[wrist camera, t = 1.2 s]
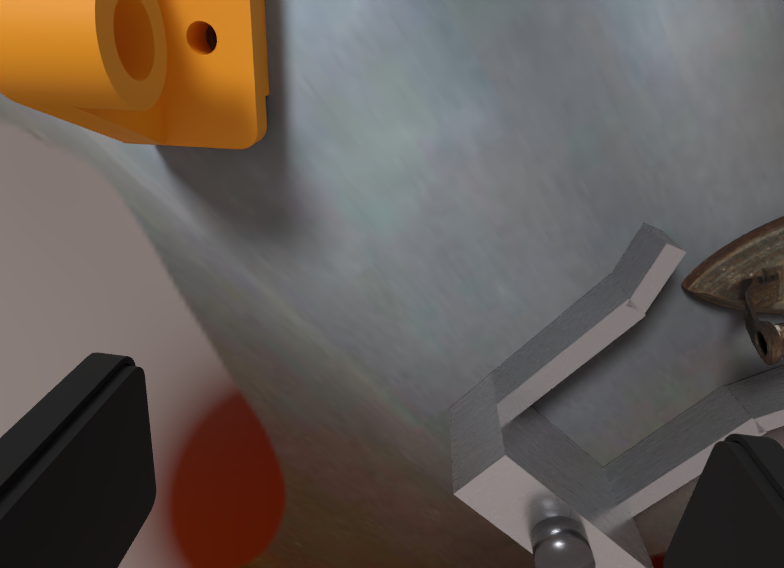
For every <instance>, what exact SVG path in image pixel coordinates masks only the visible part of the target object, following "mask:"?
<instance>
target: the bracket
mask: <svg viewBox="0 0 784 568" xmlns="http://www.w3.org/2000/svg"><path fill="white" fill-rule="evenodd" d="M210 25H211V26H212V28H213V29H214V31H215V33H216V36H217V45H216V48H215V49H214V51H213V50H212V49H211V48H210V47H209V45H208V43H207V40H206V32H207V29H208V27H209V26H210ZM0 92H1V93H2V94H3V95H5V96H6V97H7V98H9V99H11V100H12V101H14V102H17V103H19V104H22V105H25V106H27V107H30V108H33V109H35V110H38V111H41V112H43V113H46V114H49V115H52V116H54V117H57V118H60V119H62V120H65V121H68V122H70V123H73V124H76V125H79V126H81V127H84V128H87V129H89V130H92V131H95V132H97V133H100V134H103V135H106V136H108V137H111V138H114V139H116V140H119V141H122V142H124V143H132V144H151V145H169V146H187V147H206V148H224V149H246V148H248V147H250V146H252V145H253V144H255V143H257V142H258V141H260V140H261V139H262V138H263V137H264V136H265V134H266V131H267V116H266V96H267V95H269V79H268V58H267V37H266V16H265V0H0Z"/></svg>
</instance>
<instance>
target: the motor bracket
mask: <svg viewBox="0 0 784 568" xmlns="http://www.w3.org/2000/svg"><path fill="white" fill-rule="evenodd" d="M685 254H686V251H685V250H684V249H683V248H682V247H680V246H679V245H678V244H677V243H676V242H674V241H673V240H672V239H671V238H670V237H669V236H667V235H666V234H665V233H664V232H663V231H661V230H659V229H657V228H654V227H652V226H650V225H647V224H645V223H643V225H642V227H641V228H640V230H639V231H638V233H637V234H636V236H635V238H634V239H633V241H632V242H631V244H630V246H629V247H628V249H627V250H626V252H625V254H624V255H623V257H622V258H621V260H620V261H619V263H618V265H617V266H616V268H615V269H614V271H613V273H612V274H610V275H608V276H607V277H606V278H605V279H604V280H602V281H601V282H600V283H599V284H598V285H596V286H595V287H594V288H593V289H592V290H590V291H589V292H588V293H587V294H586V295H584V296H583V297H582V298H581V299H580V300H578V301H577V302H576V303H575V304H574V305H572V306H571V307H570V308H569V309H568V310H566V311H565V312H564V313H563V314H562V315H560V316H559V317H558V318H557V319H555V320H554V321H553V322H552V323H551V324H549V325H548V326H547V327H546V328H545V329H543V330H542V331H541V332H540V333H539V334H537V335H536V336H535V337H534V338H533V339H531V340H530V341H529V342H528V343H527V344H525V345H524V346H523V347H522V348H521V349H519V350H518V351H517V352H516V353H515V354H513V355H512V356H511V357H510V358H509V359H507V360H506V361H505V362H504V363H503V364H501V365H500V366H499V367H498V368H497V369H495V370H494V371H493V372H492V373H491V374H489V375H488V376H487V377H486V378H485V379H483V380H482V381H481V382H480V383H479V384H477V385H476V386H475V387H474V388H473V389H471V390H470V391H469V392H468V393H467V394H465V395H464V396H463V397H462V398H461V399H459V400H458V401H457V402H456V403H455V404H453V405H452V406H451V407H450V429H451V451H452V473H453V494H454V495H455V496H457V497H458V498H459V499H461V500H462V501H463V502H465V503H466V504H467V505H469V506H470V507H471V508H473V509H474V510H475V511H477V512H478V513H479V514H480V515H482V516H483V517H484V518H486V519H487V520H488V521H490V522H491V523H492V524H494V525H495V526H496V527H498V528H499V529H500V530H502V531H503V532H504V533H506V534H507V535H508V536H510V537H511V538H512V539H514V540H515V541H516V542H518V543H519V544H520V545H522V546H523V547H524V548H525V549H527V550H528V551H529V552H531V553H532V554H533V556H534V561H535V567H536V568H654V567H653V565H652V562H651V560H650V558H649V555H648V553H647V550H646V548H645V546H644V543H643V541H642V538H641V536H640V534H639V531H638V529H637V526H636V524H635V522H634V519H633V516H635V515H637V514H638V513H640V512H641V511H643V510H645V509H646V508H648V507H649V506H651V505H652V504H654V503H656V502H657V501H659V500H660V499H662V498H664V497H665V496H667V495H668V494H670V493H671V492H673V491H675V490H676V489H678V488H679V487H681V486H683V485H684V484H686V483H687V482H689V481H690V480H692V479H694V478H695V477H697V476H698V475H700V474H701V473H702V471H703V469H704V467H705V464H706V462H707V460H708V458H709V455H710V453H711V451H712V449H713V447H714V445H715V444H716V443H717V442H718V441H724V440H725V438H726V437H727V436H729V435H730V434H735V433H736V434H744V435H752V436H762V435H763V434H765V433H766V432H767V431H769V430H772V429H775V428H778V427H781V426H784V365H783V366H781V367H778V368H775V369H772V370H769V371H766V372H763V373H761V374H758V375H755V376H752V377H749V378H746V379H744V380H741V381H738V382H735V383H732V384H729V385H726V386H725V385H723V386H721V387H720V388H718V389H717V390H716V391H714V392H713V393H711V394H710V395H708V396H707V397H705V398H704V399H702V400H701V401H700V402H698V403H697V404H695V405H694V406H692V407H691V408H689V409H688V410H686V411H685V412H683V413H682V414H681V415H679V416H678V417H676V418H675V419H673V420H672V421H670V422H669V423H667V424H666V425H664V426H663V427H662V428H660V429H659V430H657V431H656V432H654V433H653V434H651V435H650V436H648V437H647V438H646V439H644V440H643V441H641V442H640V443H638V444H637V445H635V446H634V447H632V448H631V449H629V450H628V451H627V452H625V453H624V454H622V455H621V456H619V457H618V458H616V459H615V460H613V461H612V462H610V463H609V464H608V465H606V466H605V467H602V466H601V465H600V464H598V463H597V462H596V461H595V460H594V459H593V458H591V457H590V456H589V455H588V454H587V453H585V452H584V451H583V450H582V449H581V448H579V447H578V446H577V445H576V444H575V443H574V442H572V441H571V440H570V439H569V438H568V437H566V436H565V435H564V434H563V433H562V432H561V431H559V430H558V429H557V428H556V427H555V426H553V425H552V424H551V423H550V422H549V421H547V420H546V419H545V418H544V417H543V416H542V415H540V414H539V413H538V412H537V411H536V410H534V409H533V408H532V407H531V406H530V405H532V404H533V403H534V402H535V401H537V400H538V399H539V398H541V397H542V396H543V395H544V394H546V393H547V392H548V391H550V390H551V389H552V388H553V387H555V386H556V385H557V384H559V383H560V382H561V381H562V380H564V379H565V378H566V377H568V376H569V375H570V374H571V373H573V372H574V371H575V370H577V369H578V368H579V367H580V366H582V365H583V364H584V363H586V362H587V361H588V360H589V359H591V358H592V357H593V356H595V355H596V354H597V353H598V352H600V351H601V350H602V349H604V348H605V347H606V346H607V345H609V344H610V343H611V342H613V341H614V340H615V339H616V338H618V337H619V336H620V335H622V334H623V333H624V332H625V331H627V330H628V329H629V328H631V327H632V326H633V325H634V324H636V323H637V322H638V321H640V320H641V319H642V318H643V317H645V316H646V315H645V312H646V311H647V309H648V308H649V306H650V305H651V304H652V302H653V301H654V299H655V298H656V296H657V295H658V293H659V292H660V290H661V289H662V287H663V286H664V284H665V283H666V281H667V280H668V279H669V277H670V276H671V274H672V273H673V271H674V270H675V268H676V267H677V265H678V264H679V262H680V261H681V259H682V258H683V257H684V255H685Z"/></svg>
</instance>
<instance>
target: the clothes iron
mask: <svg viewBox="0 0 784 568" xmlns="http://www.w3.org/2000/svg"><path fill="white" fill-rule="evenodd" d="M682 287H683V288H685V289H686V290H687V291H689V292H690V293H692V294H693V295H695V296H697V297H699V298H700V299H702V300H705V301H708V302H710V303H713V304H716V305H719V306H722V307H726V308H730V309H735V310H740V311H745V313H744V320H745V324H746V328H747V331H748V333H749V335H750V338H751V340H752V343H753V345H754V346H755V348H756V350H757V352H758V354H759V355H760V357H761V358H762V359H763V360H764V361H765V362H766V363H767V364H768V365H773V364H774V363H777V362H779V361H780V360H781V358H782V357H784V323H779V324H774V325H773V324H772V323H770V322H768V321H759V319H758V317H757V314H756V313H769V314H784V216H783V217H781V218H778V219H776V220H773V221H771V222H769V223H767V224H765V225H762V226H760V227H758V228H756V229H754V230H752V231H750V232H749V233H747V234H745V235H743V236H741V237H739V238H738V239H736V240H734V241H733V242H731V243H729V244H728V245H726V246H724V247H723V248H721V249H720V250H718V251H717V252H716V253H714V254H713V255H711V256H710V257H709V258H707V259H706V260H705V261H703V262H702V263H701V264H700V265H699V266H698V267H697V268H695V269H694V270H693V271H692V272H691V273H690V274H689V275H688V276H687V278H686V279H685V280H684V281H683V282H682Z"/></svg>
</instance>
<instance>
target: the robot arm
mask: <svg viewBox="0 0 784 568" xmlns="http://www.w3.org/2000/svg"><path fill="white" fill-rule="evenodd" d="M155 496H156V482H155V472H154V462H153V453H152V442H151V433H150V423H149V414H148V403H147V393H146V383H145V374H144V371H143V369H142V368H141V367H136V366H135V362H134V360H133V359H132V358H131V357H128V356H121V355H112V354H105V353H92V354H90V355H89V356H88V357H87V358H86V359H84V360H83V361H82V362H81V363H80V364H79V365H78V366H77V367H76V368H75V369H74V370H73V371H71V372H70V373H69V374H68V375H67V376H66V377H65V378H64V379H63V380H62V381H61V382H60V383H59V384H58V385H56V386H55V387H54V388H53V389H52V390H51V391H50V392H49V393H48V394H47V395H46V396H45V397H44V398H43V399H42V400H40V401H39V402H38V403H37V404H36V405H35V406H34V407H33V408H32V409H31V410H30V411H29V412H28V413H27V414H26V415H24V416H23V417H22V418H21V419H20V420H19V421H18V422H17V423H16V424H15V425H14V426H13V427H12V428H11V429H9V430H8V431H7V432H6V433H5V434H4V435H3V436H2V437H1V438H0V568H118V566H119V564H120V562H121V561H122V559H123V558H124V556H125V554H126V552H127V551H128V549H129V547H130V546H131V544H132V542H133V541H134V539H135V537H136V536H137V534H138V532H139V530H140V529H141V527H142V525H143V524H144V522H145V520H146V519H147V517H148V515H149V513H150V511H151V509H152V507H153V504H154V501H155ZM664 568H784V449H783V448H782V446H781V445H780V444H779V443H778V442H777V441H775V440H774V439H771V438H768V437H760V436H752V435H744V434H736V433H735V434H730V435H729V436H727V437H726V438H725V440H724V441H718V442H717V443H716V444H715V445H714V447H713V449H712V451H711V453H710V455H709V458H708V460H707V462H706V464H705V467H704V469H703V471H702V473H701V476H700V478H699V480H698V482H697V485H696V487H695V489H694V491H693V494H692V496H691V498H690V500H689V503H688V505H687V507H686V509H685V512H684V514H683V516H682V518H681V521H680V523H679V525H678V527H677V530H676V532H675V534H674V536H673V539H672V541H671V543H670V545H669V548H668V550H667V552H666V554H665V558H664Z"/></svg>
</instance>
